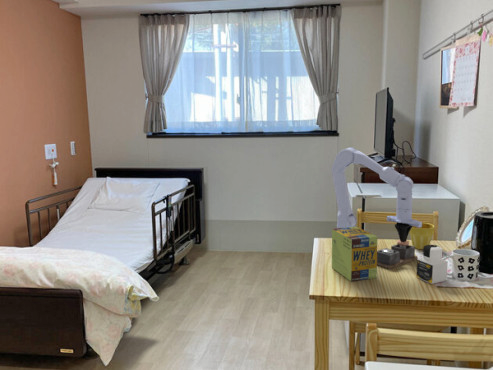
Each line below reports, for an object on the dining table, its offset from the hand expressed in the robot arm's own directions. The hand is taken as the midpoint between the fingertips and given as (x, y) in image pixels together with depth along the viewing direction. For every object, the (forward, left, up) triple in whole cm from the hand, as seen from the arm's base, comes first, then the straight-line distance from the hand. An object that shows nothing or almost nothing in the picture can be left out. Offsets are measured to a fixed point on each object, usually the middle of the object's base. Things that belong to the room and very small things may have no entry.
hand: (403, 241), depth 172 cm
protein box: (+17, -21, -7) cm, 28 cm away
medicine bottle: (+21, +5, -7) cm, 23 cm away
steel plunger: (+7, -7, -6) cm, 11 cm away
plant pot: (-16, +10, -7) cm, 20 cm away
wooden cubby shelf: (+3, -4, -7) cm, 9 cm away
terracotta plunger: (0, 0, -4) cm, 4 cm away
